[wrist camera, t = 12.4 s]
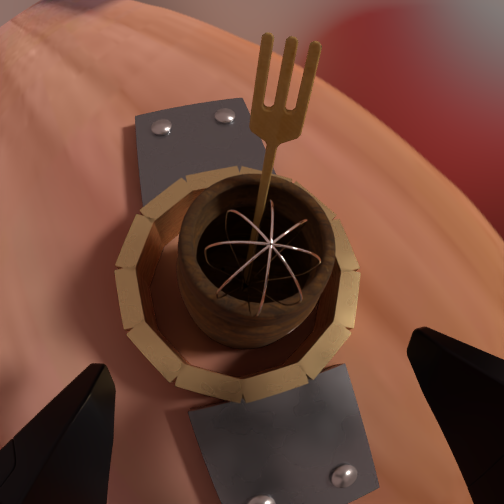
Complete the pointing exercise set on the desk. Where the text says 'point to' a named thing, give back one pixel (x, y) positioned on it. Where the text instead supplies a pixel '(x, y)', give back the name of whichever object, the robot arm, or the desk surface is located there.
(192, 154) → the wooden ring bracket
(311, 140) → the desk surface
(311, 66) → the utensil holder
